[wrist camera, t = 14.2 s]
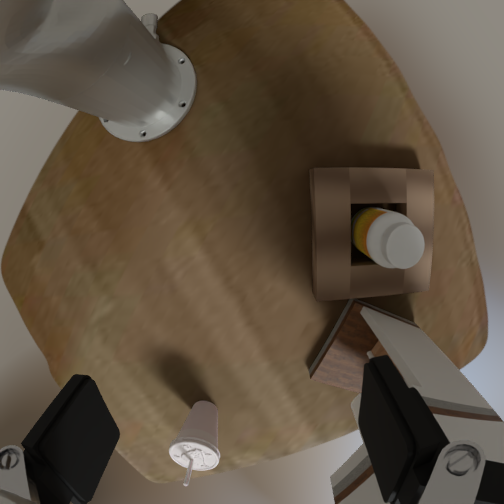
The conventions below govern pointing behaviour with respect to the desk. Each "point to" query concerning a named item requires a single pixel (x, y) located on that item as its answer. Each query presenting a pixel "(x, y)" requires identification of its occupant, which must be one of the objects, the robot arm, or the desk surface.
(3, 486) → the robot arm
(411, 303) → the desk surface
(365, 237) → the supplement bottle
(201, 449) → the smoothie
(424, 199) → the socket block
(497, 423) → the tall seamed white column
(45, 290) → the desk surface
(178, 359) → the desk surface
